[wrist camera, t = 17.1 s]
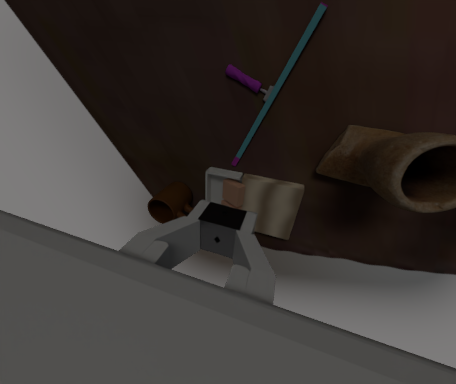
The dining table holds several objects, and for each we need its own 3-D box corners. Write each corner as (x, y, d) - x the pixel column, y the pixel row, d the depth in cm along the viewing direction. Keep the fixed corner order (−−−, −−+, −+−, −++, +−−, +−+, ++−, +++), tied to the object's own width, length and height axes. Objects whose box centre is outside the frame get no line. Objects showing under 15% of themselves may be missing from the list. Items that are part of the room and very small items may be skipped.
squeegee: (265, -33, 26) (327, 5, 25) (267, -27, 27) (326, 9, 27) (197, 143, 42) (234, 167, 42) (200, 141, 43) (236, 164, 43)
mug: (210, 192, 48) (194, 213, 41) (205, 214, 53) (189, 236, 45) (169, 176, 50) (146, 193, 42) (168, 198, 54) (146, 217, 46)
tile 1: (245, 185, 41) (239, 188, 40) (242, 204, 43) (236, 207, 42) (229, 177, 44) (223, 179, 43) (228, 195, 46) (222, 198, 45)
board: (303, 184, 40) (304, 190, 38) (288, 233, 47) (288, 240, 45) (245, 173, 43) (242, 177, 41) (239, 220, 50) (236, 226, 48)
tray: (242, 173, 43) (239, 178, 40) (237, 220, 50) (234, 227, 48) (210, 166, 45) (205, 171, 42) (209, 213, 52) (205, 219, 49)
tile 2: (241, 206, 44) (236, 209, 43) (239, 223, 46) (234, 226, 45) (227, 197, 47) (221, 200, 46) (225, 213, 49) (220, 216, 48)
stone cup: (445, 127, 29) (558, 159, 16) (394, 191, 35) (449, 249, 23) (342, 105, 31) (373, 118, 19) (313, 168, 38) (322, 209, 25)
